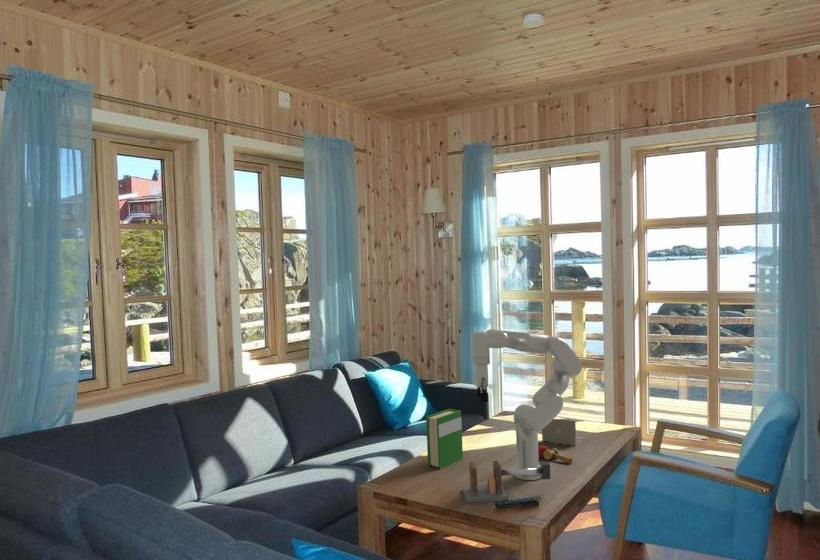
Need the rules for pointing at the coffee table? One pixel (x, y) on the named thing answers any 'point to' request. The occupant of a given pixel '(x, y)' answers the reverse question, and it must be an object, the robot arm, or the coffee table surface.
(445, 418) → the hardback book
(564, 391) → the robot arm
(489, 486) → the collar
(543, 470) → the shaft
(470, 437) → the coffee table surface
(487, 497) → the base board
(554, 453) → the kendama
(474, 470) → the stand
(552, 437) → the laptop
